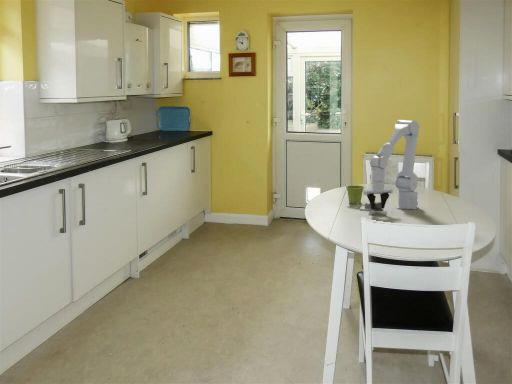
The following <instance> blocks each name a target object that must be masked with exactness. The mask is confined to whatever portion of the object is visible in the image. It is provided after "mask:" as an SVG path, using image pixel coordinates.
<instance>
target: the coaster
mask: <svg viewBox="0 0 512 384" xmlns="http://www.w3.org/2000/svg"><path fill="white" fill-rule="evenodd" d="M369 214H371V215H370V216H382V215H383V217H384V216H385V217H386V216H387V211H386V210H383V211H376V212H375V211H372V210H368V215H369Z"/></svg>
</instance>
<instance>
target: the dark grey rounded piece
mask: <svg viewBox="0 0 512 384" xmlns="http://www.w3.org/2000/svg"><path fill="white" fill-rule="evenodd" d="M371 210H372V211H375V212H376V211H384V209H383V208H382V203H381V201H380V202H379V201H375V208H374V209H371Z"/></svg>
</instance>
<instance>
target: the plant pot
mask: <svg viewBox="0 0 512 384" xmlns="http://www.w3.org/2000/svg"><path fill="white" fill-rule="evenodd" d="M345 188H346V191H347V195H348V203H349V204H352V205H358V204H361V203H362V198H363V197H362V196H363V191H364V188H365V186H364V185H360V184H359V185H358V184H355V185H354V184H353V185H352V184H351V185H347V186H346V187H345Z"/></svg>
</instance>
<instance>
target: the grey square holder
mask: <svg viewBox="0 0 512 384" xmlns="http://www.w3.org/2000/svg"><path fill="white" fill-rule="evenodd" d="M359 210H360V211H370V210H371V205H370V202H369V201H365V202H364V204H361V205H360V207H359Z"/></svg>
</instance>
